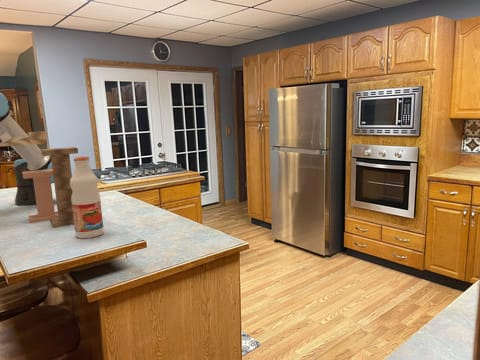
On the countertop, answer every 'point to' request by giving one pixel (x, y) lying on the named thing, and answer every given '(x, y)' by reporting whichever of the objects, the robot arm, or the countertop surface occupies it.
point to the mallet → (27, 139)
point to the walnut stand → (62, 183)
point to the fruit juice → (85, 200)
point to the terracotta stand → (42, 195)
